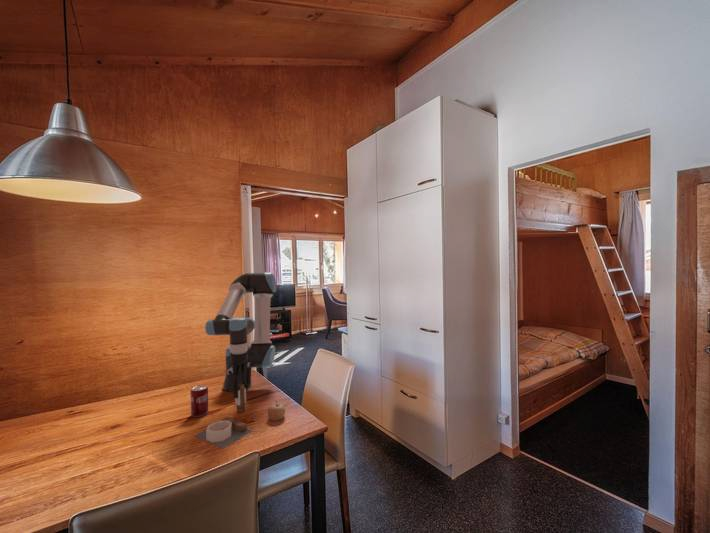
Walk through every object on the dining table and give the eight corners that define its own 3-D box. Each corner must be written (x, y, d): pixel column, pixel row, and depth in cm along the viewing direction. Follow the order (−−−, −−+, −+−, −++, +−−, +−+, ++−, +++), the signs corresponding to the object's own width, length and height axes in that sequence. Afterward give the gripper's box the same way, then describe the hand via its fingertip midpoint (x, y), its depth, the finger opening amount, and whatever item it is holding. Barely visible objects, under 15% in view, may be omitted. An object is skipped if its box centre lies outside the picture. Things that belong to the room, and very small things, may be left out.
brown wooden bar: (241, 408, 147) (240, 383, 147) (244, 410, 146) (244, 384, 145) (236, 411, 145) (236, 385, 145) (240, 412, 144) (239, 386, 143)
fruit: (267, 417, 140) (267, 399, 140) (284, 415, 143) (284, 397, 143) (268, 425, 133) (267, 406, 133) (286, 422, 135) (285, 404, 135)
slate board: (224, 422, 137) (224, 420, 137) (253, 433, 127) (253, 430, 127) (193, 438, 125) (193, 435, 125) (223, 451, 115) (222, 448, 115)
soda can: (211, 410, 149) (211, 385, 149) (202, 417, 142) (202, 391, 142) (197, 410, 150) (196, 384, 150) (187, 417, 143) (186, 390, 143)
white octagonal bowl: (222, 427, 130) (222, 418, 130) (236, 433, 126) (236, 423, 126) (202, 438, 123) (201, 428, 123) (216, 444, 118) (216, 434, 118)
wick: (222, 425, 132) (222, 419, 132) (227, 423, 134) (227, 417, 134) (241, 432, 126) (241, 426, 126) (246, 429, 128) (246, 423, 128)
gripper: (247, 346, 153) (248, 395, 154) (218, 355, 140) (220, 408, 140) (258, 348, 149) (259, 398, 150) (229, 357, 136) (231, 412, 137)
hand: (240, 403), depth 145 cm, fingers closed on brown wooden bar, 2 cm apart
